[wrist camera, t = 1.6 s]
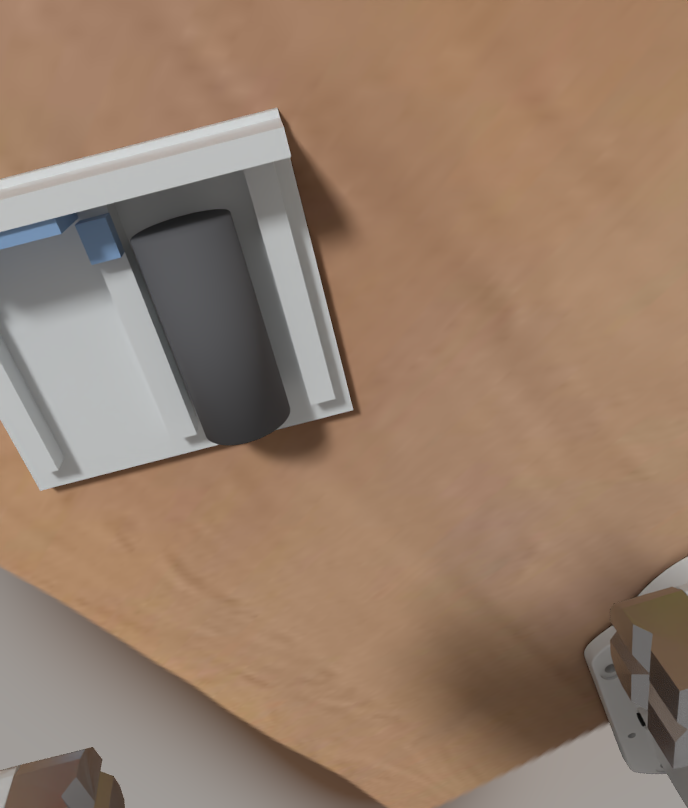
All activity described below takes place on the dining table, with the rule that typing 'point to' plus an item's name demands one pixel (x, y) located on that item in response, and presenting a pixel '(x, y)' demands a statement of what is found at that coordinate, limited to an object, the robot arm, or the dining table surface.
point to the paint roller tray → (146, 296)
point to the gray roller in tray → (214, 324)
